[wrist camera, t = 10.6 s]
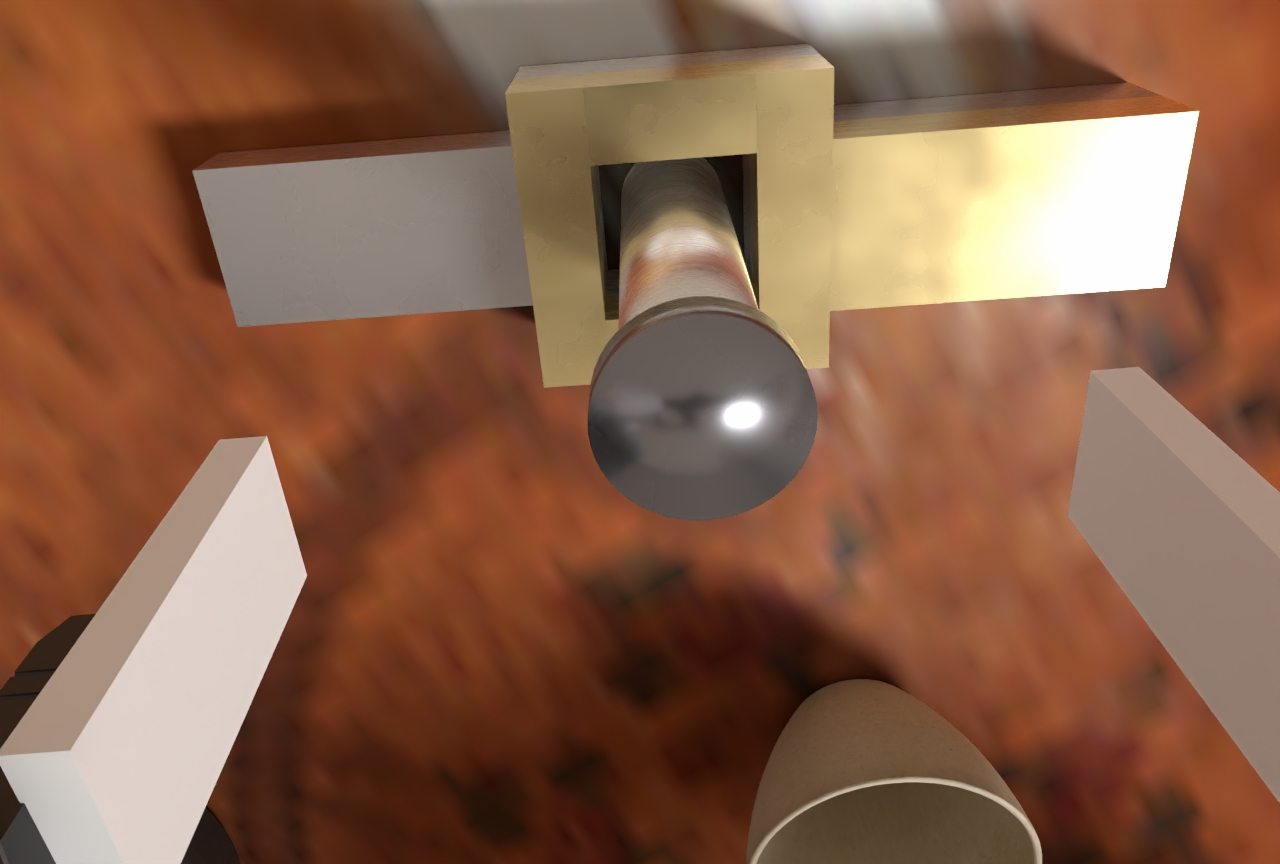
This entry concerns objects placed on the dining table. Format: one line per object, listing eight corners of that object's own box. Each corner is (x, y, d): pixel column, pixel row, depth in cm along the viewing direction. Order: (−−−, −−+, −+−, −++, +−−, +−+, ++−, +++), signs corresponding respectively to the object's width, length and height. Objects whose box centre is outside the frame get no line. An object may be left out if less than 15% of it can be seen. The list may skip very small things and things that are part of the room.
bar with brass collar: (273, 351, 32) (229, 409, 28) (202, 92, 28) (140, 122, 25) (1095, 292, 31) (1154, 344, 28) (1138, 17, 27) (1213, 37, 24)
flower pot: (693, 673, 39) (704, 827, 32) (946, 596, 37) (1009, 743, 31) (773, 835, 43) (797, 997, 37) (1002, 773, 41) (1068, 933, 35)
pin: (610, 267, 31) (598, 527, 18) (598, 135, 29) (576, 327, 16) (741, 257, 31) (815, 512, 18) (737, 124, 29) (819, 310, 16)
